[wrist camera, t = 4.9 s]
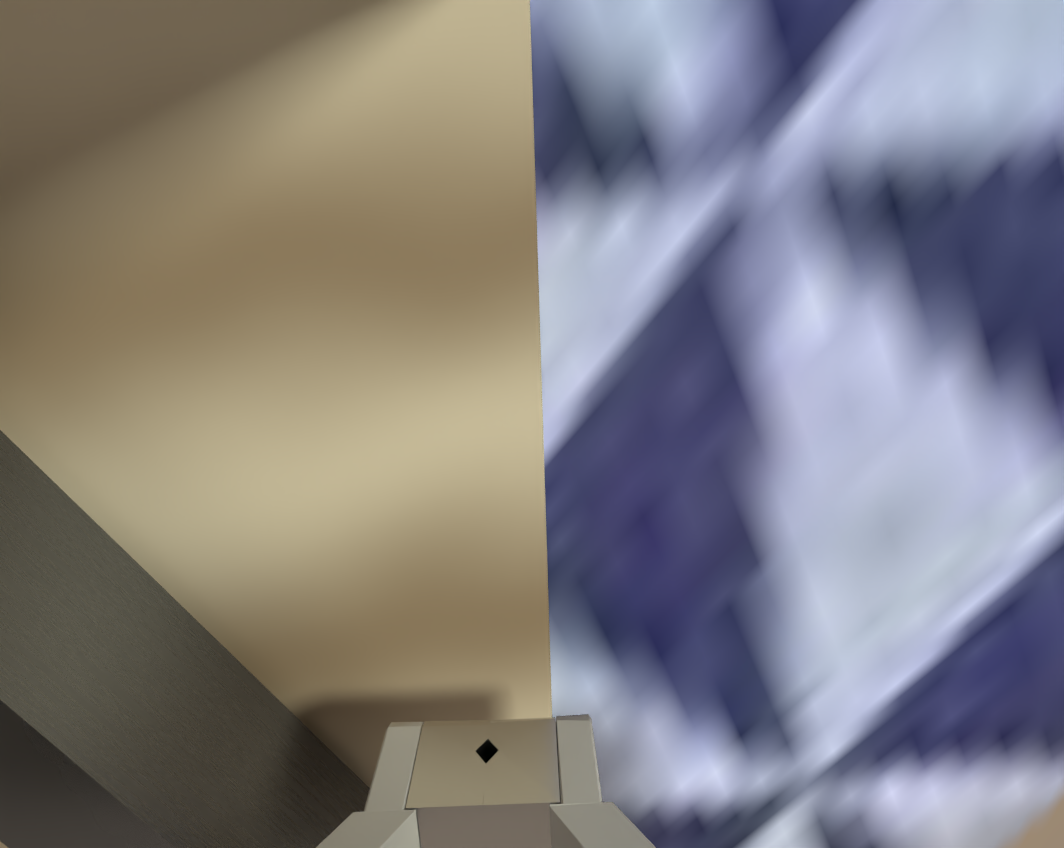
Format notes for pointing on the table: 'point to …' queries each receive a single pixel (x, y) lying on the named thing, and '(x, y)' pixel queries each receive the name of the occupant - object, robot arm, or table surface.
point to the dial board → (292, 333)
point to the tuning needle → (135, 704)
